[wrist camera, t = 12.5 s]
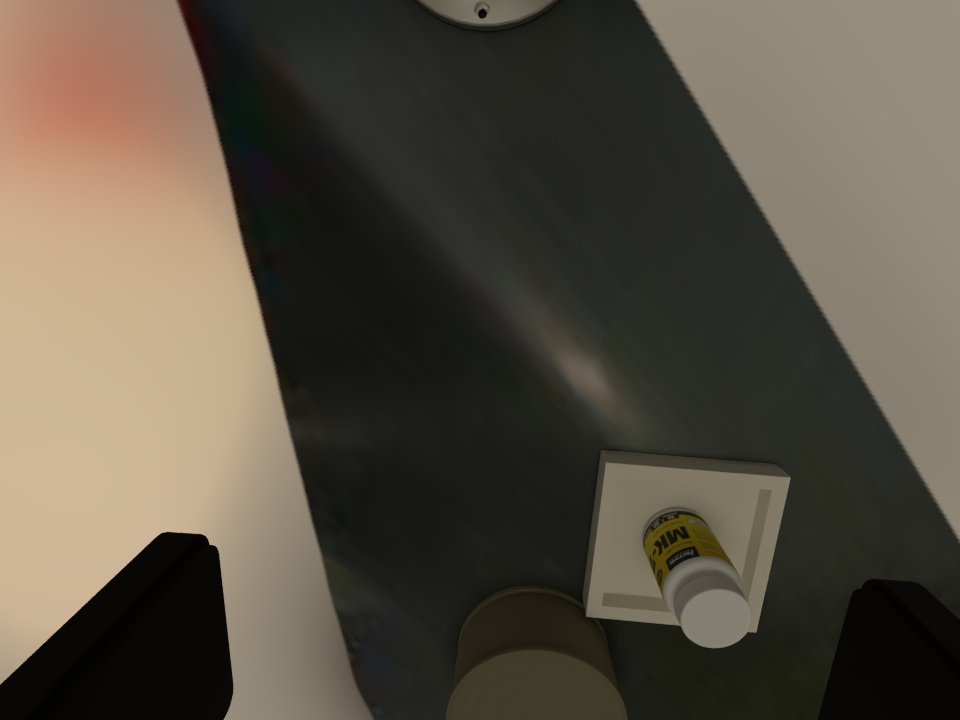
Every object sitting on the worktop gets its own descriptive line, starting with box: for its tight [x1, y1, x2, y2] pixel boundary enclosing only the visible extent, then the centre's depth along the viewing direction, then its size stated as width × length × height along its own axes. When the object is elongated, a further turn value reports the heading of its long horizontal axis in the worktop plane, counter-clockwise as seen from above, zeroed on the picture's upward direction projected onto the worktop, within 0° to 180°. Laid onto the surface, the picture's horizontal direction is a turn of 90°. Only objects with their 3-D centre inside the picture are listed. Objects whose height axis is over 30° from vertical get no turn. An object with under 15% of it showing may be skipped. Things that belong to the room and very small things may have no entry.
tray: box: [582, 450, 790, 632], centre depth 39 cm, size 12×12×2 cm
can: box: [446, 585, 628, 720], centre depth 40 cm, size 12×12×7 cm
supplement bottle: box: [642, 508, 752, 648], centre depth 35 cm, size 5×5×8 cm
